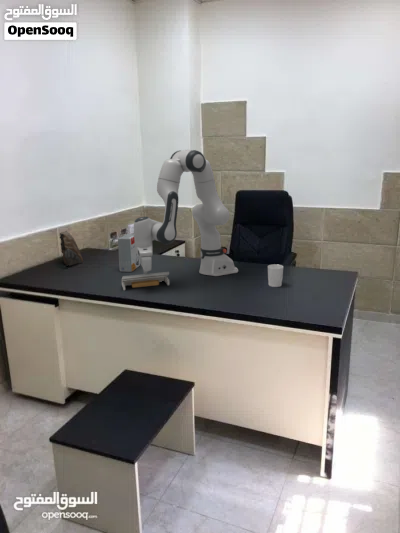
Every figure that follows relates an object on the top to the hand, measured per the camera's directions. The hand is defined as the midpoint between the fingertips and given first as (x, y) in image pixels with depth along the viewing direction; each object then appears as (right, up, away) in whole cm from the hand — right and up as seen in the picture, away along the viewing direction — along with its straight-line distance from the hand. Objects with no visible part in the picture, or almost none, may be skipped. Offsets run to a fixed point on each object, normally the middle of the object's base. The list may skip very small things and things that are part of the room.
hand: (145, 274), depth 218 cm
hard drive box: (-14, +3, +36) cm, 39 cm away
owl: (-54, +7, +52) cm, 76 cm away
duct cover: (-1, -1, +2) cm, 2 cm away
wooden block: (-1, -6, +4) cm, 7 cm away
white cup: (+67, -5, -1) cm, 67 cm away
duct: (-1, -6, +3) cm, 7 cm away
